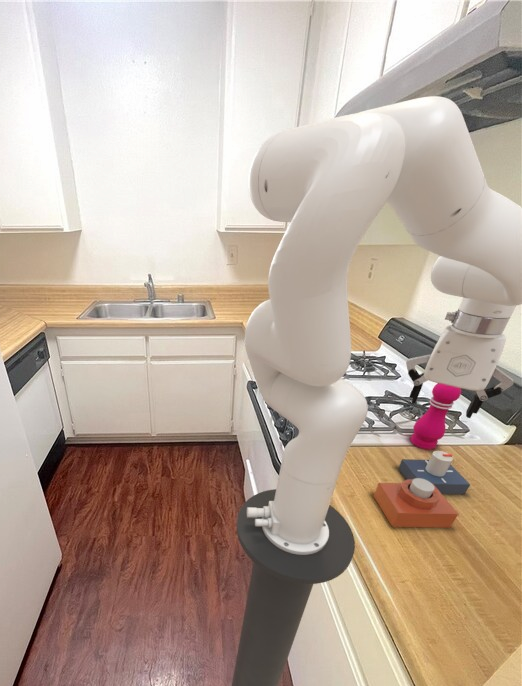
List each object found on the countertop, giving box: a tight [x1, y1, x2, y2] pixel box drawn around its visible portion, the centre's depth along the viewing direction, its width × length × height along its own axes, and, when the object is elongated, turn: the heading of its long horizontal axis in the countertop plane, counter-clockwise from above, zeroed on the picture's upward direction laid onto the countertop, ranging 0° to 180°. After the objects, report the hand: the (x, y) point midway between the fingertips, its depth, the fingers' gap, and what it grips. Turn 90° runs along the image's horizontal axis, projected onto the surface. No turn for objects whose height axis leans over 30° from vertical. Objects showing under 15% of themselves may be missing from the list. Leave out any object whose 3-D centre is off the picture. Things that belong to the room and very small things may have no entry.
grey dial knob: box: [426, 450, 454, 477], centre depth 80 cm, size 4×4×5 cm
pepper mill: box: [410, 383, 462, 450], centre depth 91 cm, size 7×7×20 cm
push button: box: [409, 478, 434, 498], centre depth 71 cm, size 4×4×2 cm
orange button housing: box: [373, 479, 459, 529], centre depth 73 cm, size 12×9×6 cm
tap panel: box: [398, 458, 471, 495], centre depth 82 cm, size 11×9×3 cm
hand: (440, 407), depth 70 cm, fingers open, 9 cm apart
